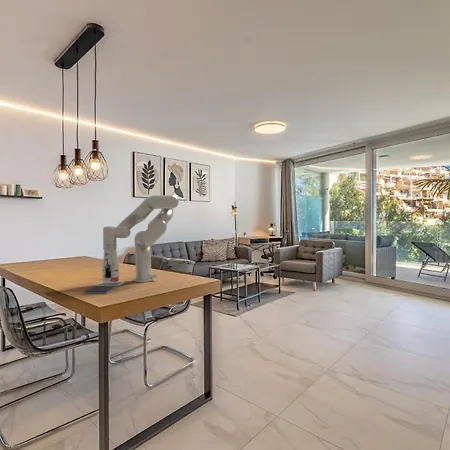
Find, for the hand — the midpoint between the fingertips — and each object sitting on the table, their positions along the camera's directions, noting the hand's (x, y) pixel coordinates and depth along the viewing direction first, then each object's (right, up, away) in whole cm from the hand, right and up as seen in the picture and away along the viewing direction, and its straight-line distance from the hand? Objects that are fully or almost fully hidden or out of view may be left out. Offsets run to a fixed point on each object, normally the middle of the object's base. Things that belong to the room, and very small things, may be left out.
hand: (110, 276), depth 182 cm
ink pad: (+1, -5, -18) cm, 19 cm away
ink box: (0, -3, 0) cm, 3 cm away
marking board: (0, -5, 0) cm, 5 cm away
